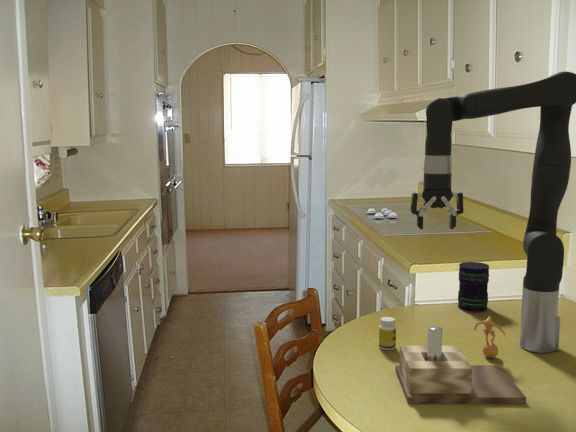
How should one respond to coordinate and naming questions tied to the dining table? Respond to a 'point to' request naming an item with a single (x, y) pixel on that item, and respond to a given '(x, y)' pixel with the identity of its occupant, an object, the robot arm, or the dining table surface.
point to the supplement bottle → (387, 333)
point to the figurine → (491, 348)
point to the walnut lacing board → (473, 389)
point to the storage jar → (473, 286)
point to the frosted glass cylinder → (434, 343)
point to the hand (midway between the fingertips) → (436, 229)
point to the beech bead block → (435, 371)
